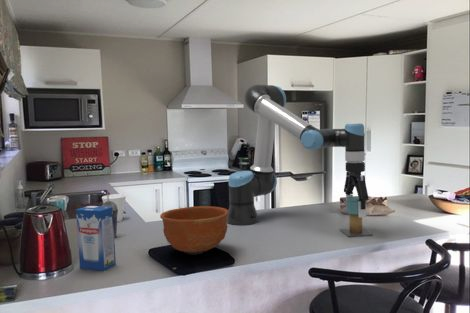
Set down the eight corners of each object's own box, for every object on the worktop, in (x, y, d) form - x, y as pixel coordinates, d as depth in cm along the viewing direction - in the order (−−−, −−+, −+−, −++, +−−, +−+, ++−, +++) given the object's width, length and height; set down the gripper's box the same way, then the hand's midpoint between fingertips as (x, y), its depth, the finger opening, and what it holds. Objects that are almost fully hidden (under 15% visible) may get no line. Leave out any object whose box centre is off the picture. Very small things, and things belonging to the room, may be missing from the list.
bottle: (348, 237, 159) (347, 205, 158) (339, 230, 169) (339, 201, 168) (372, 235, 160) (372, 204, 159) (362, 229, 170) (362, 200, 169)
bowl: (172, 269, 131) (169, 223, 130) (155, 248, 154) (153, 209, 152) (241, 256, 141) (239, 214, 139) (215, 239, 163) (214, 202, 162)
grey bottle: (103, 240, 166) (100, 193, 165) (100, 236, 173) (97, 190, 171) (121, 238, 170) (118, 191, 168) (117, 234, 176) (115, 189, 175)
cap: (347, 210, 168) (347, 196, 168) (364, 211, 166) (364, 196, 165) (345, 213, 162) (345, 199, 162) (363, 214, 160) (363, 199, 159)
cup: (130, 220, 201) (129, 196, 200) (107, 224, 194) (105, 199, 194) (123, 216, 211) (121, 193, 210) (100, 220, 204) (98, 196, 203)
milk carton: (79, 268, 135) (75, 209, 133) (92, 262, 140) (88, 205, 139) (104, 271, 131) (100, 210, 129) (116, 264, 137) (112, 206, 135)
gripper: (377, 164, 150) (377, 220, 152) (352, 158, 175) (353, 206, 177) (358, 165, 150) (358, 221, 151) (335, 159, 174) (336, 207, 176)
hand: (355, 213), depth 164 cm, fingers open, 13 cm apart
